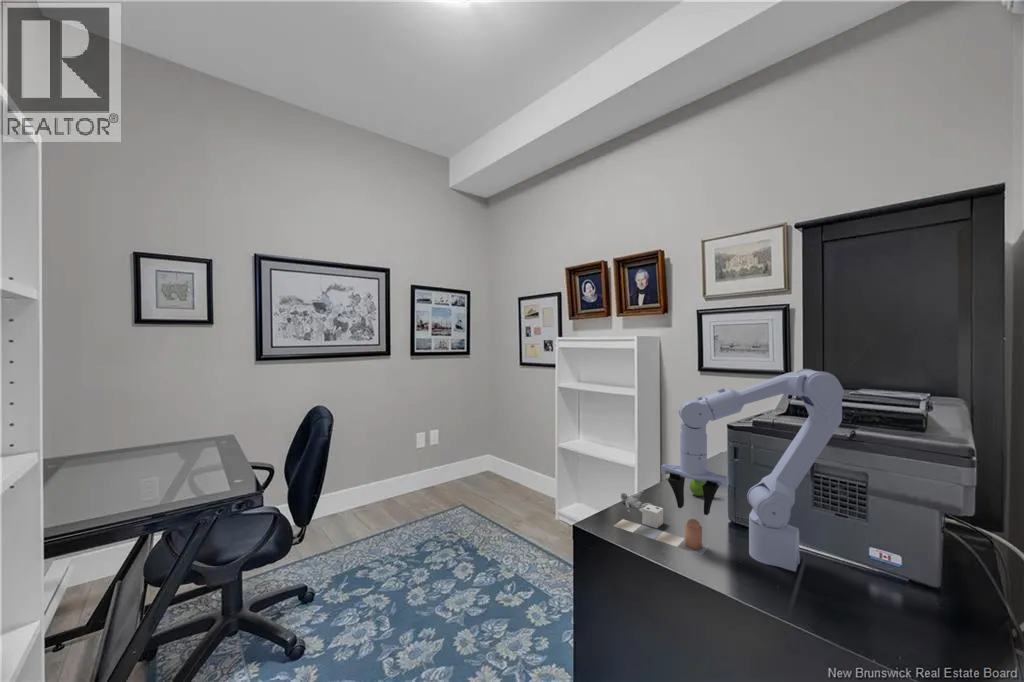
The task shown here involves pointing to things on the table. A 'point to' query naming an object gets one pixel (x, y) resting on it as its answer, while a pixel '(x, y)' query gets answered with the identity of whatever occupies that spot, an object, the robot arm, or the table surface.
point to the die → (652, 516)
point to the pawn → (693, 535)
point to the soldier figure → (634, 501)
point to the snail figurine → (697, 487)
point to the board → (657, 535)
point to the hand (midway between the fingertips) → (693, 510)
